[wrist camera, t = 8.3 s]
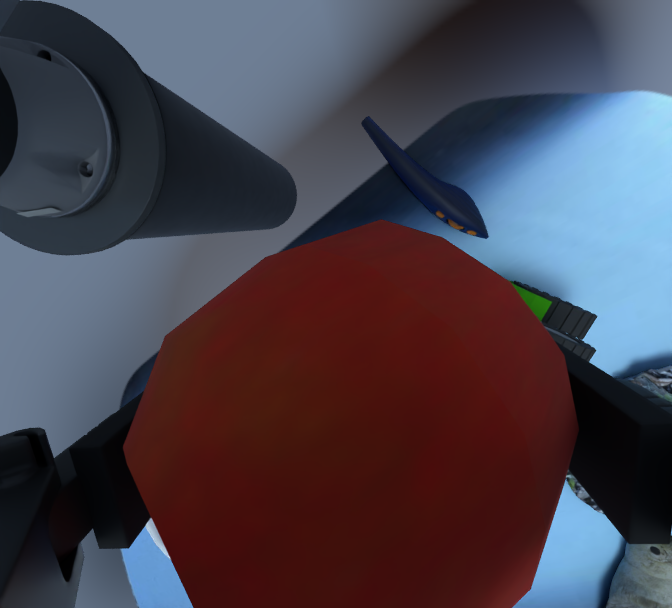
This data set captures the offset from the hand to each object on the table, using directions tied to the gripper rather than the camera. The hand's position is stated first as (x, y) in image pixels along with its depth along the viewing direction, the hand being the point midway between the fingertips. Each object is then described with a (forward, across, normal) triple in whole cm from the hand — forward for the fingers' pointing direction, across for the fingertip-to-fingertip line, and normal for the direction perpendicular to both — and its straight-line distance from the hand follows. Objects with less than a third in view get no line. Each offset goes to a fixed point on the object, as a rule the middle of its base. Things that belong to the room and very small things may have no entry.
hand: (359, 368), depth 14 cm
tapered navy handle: (+23, +8, +10) cm, 26 cm away
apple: (-8, -4, -1) cm, 9 cm away
